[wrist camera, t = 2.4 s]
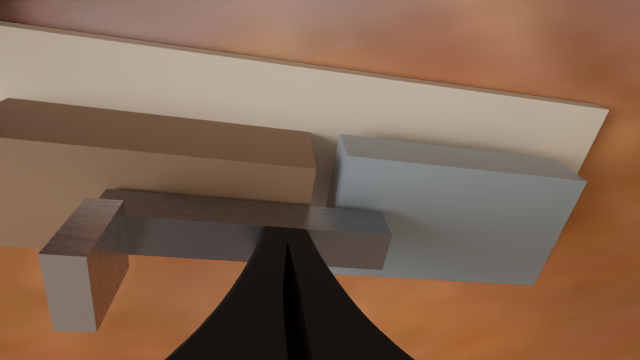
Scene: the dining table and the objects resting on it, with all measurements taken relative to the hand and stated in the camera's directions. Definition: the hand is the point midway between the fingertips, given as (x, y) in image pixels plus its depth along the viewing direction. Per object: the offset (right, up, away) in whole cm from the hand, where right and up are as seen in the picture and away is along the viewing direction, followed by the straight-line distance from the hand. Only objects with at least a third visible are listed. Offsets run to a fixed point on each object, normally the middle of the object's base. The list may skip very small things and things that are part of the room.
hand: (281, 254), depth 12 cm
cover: (+6, +1, +5) cm, 8 cm away
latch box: (+1, +3, +6) cm, 6 cm away
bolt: (-1, +1, +1) cm, 2 cm away
